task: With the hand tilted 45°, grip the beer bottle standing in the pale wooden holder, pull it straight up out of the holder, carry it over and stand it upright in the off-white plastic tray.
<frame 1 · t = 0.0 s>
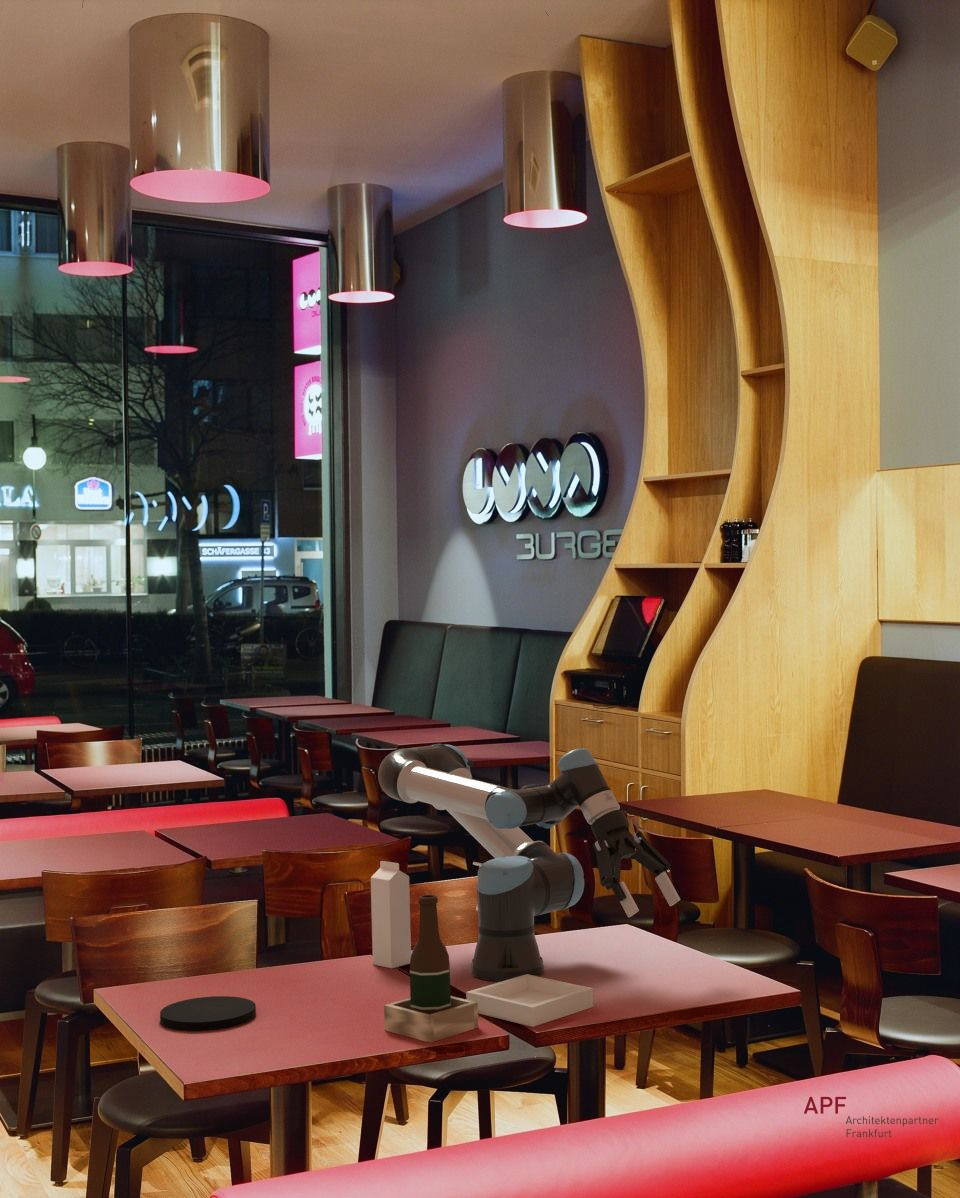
hand: (654, 908, 283), 15 cm above the table, tool tilted 35°, fingers open, 13 cm apart
cup with straw: (496, 953, 313), on the table, touching arm
holder: (431, 1028, 255), on the table
wireless charger: (208, 1020, 266), on the table
milk: (392, 964, 304), on the table
tray: (530, 1008, 266), on the table
beer bottle: (431, 1029, 255), resting in holder
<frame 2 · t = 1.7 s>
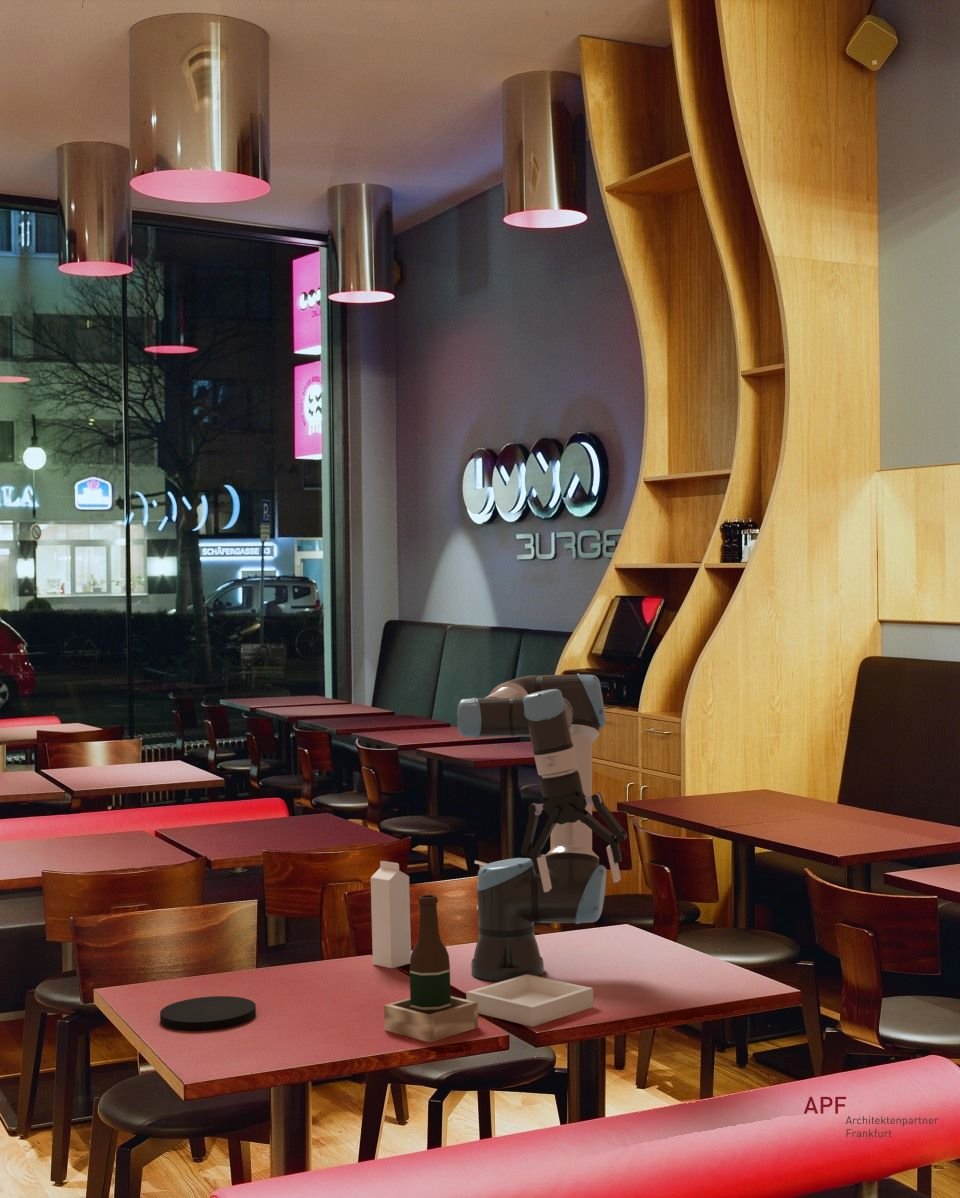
hand: (582, 885, 260), 24 cm above the table, tool pointing down, fingers open, 13 cm apart
cup with straw: (496, 952, 313), on the table
everything else where it was.
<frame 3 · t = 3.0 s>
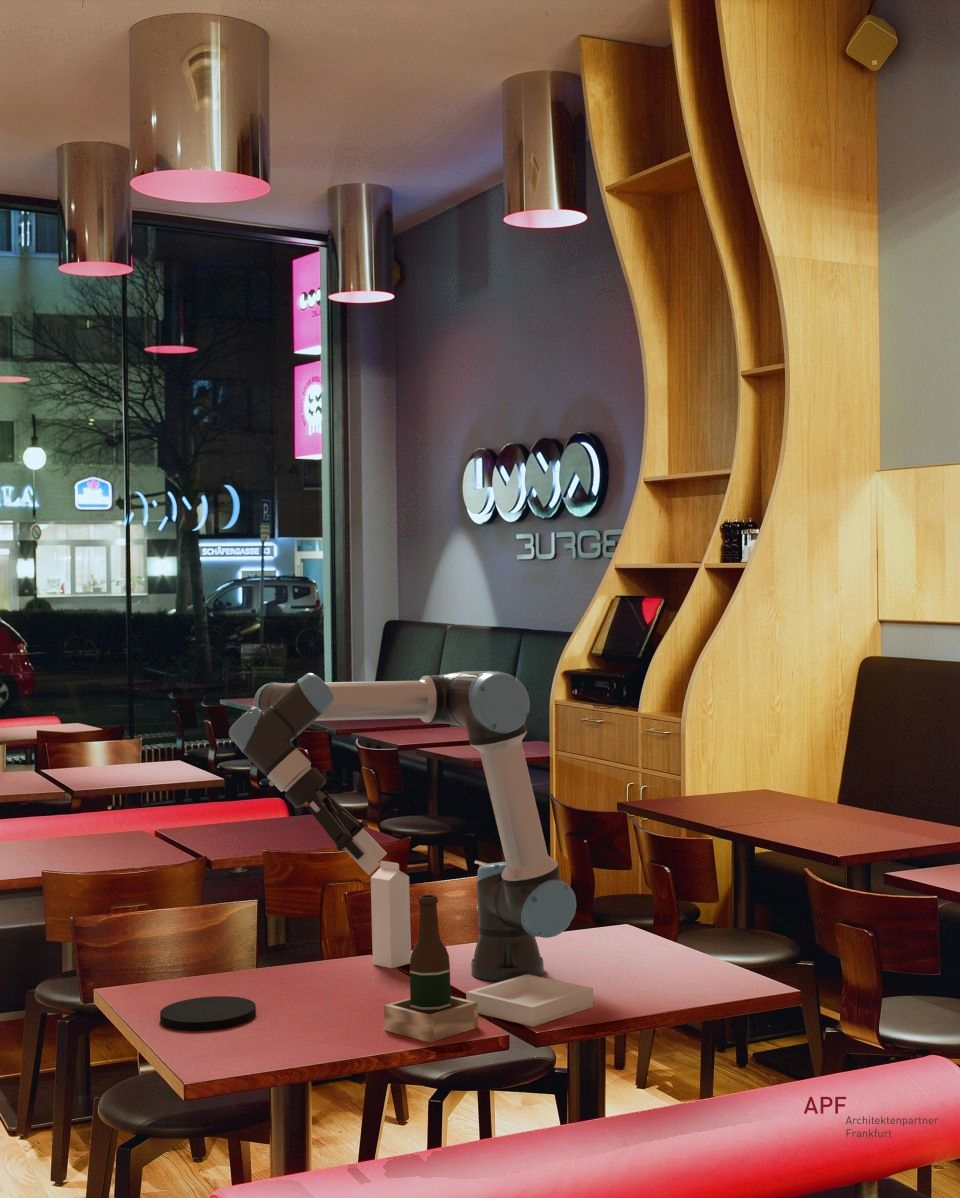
hand: (378, 864, 256), 30 cm above the table, tool tilted 40°, fingers open, 13 cm apart
nothing on the table moved.
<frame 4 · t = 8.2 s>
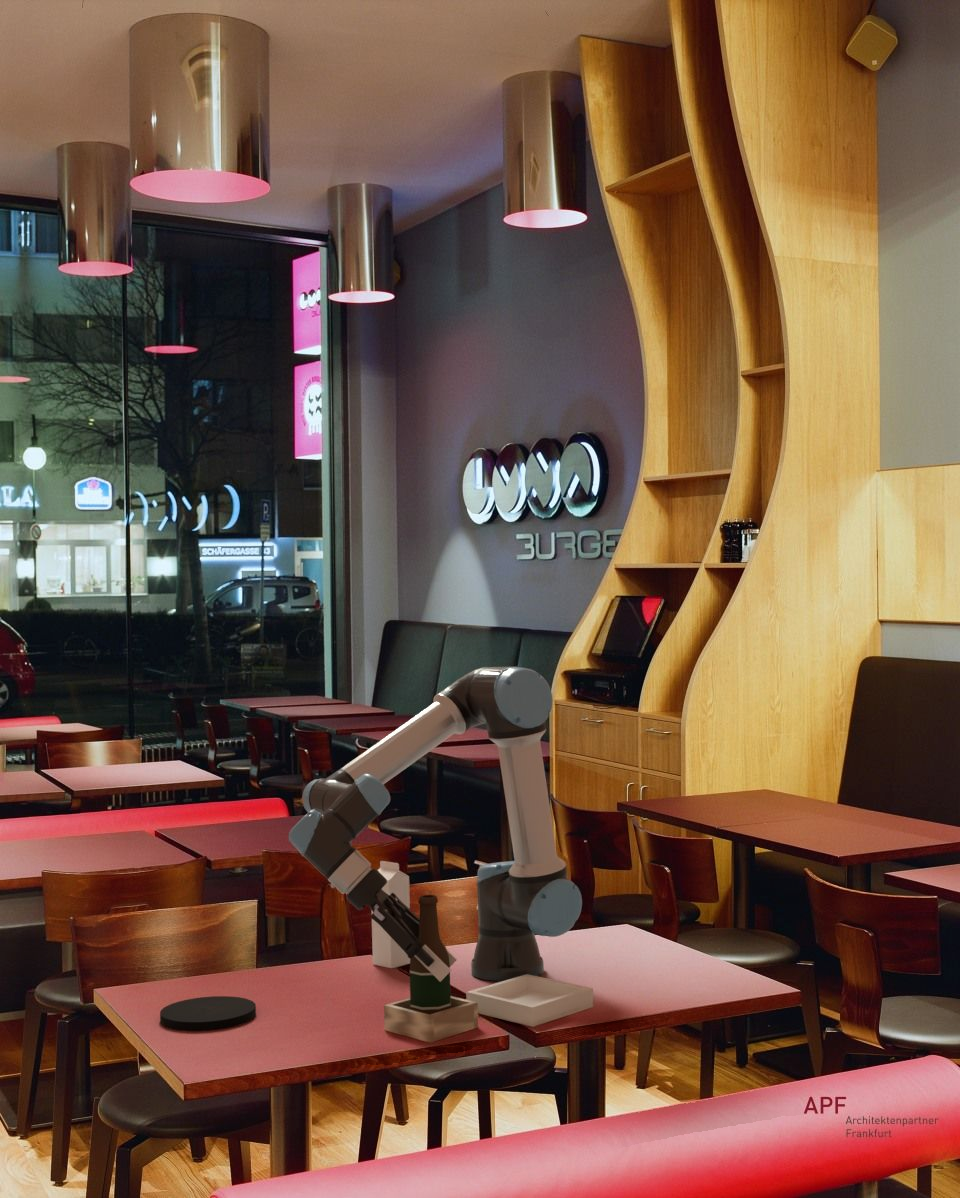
hand: (448, 970, 255), 11 cm above the table, tool tilted 45°, fingers closed on beer bottle, 7 cm apart
beer bottle: (431, 1029, 255), resting in holder, touching gripper
everything else where it was.
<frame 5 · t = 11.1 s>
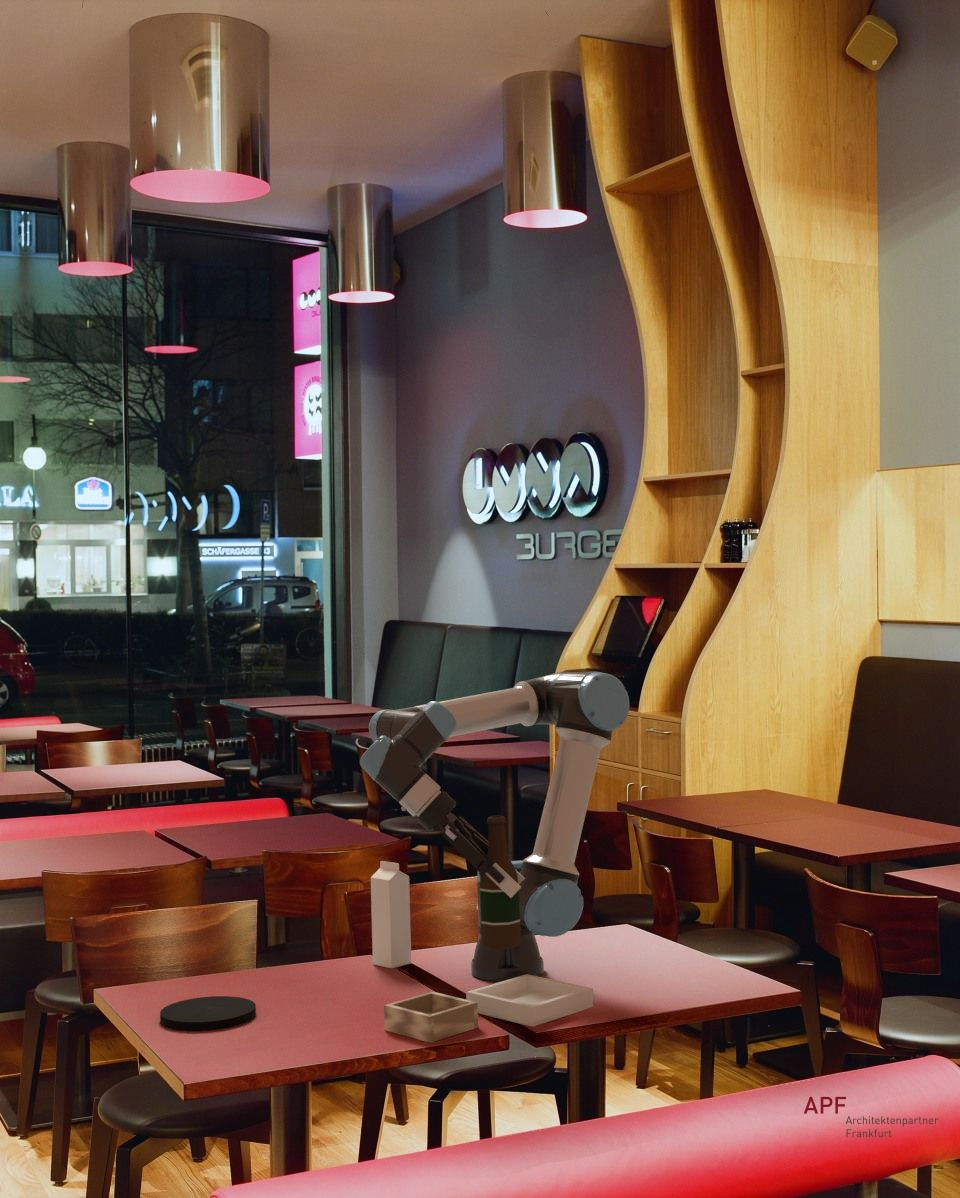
hand: (517, 887, 263), 24 cm above the table, tool tilted 45°, fingers closed on beer bottle, 7 cm apart
beer bottle: (501, 945, 263), point 13 cm above the table, touching gripper
everything else where it was.
when the fingers open (13 cm above the table, at t = 14.4 s): beer bottle drops 2 cm, resting on tray.
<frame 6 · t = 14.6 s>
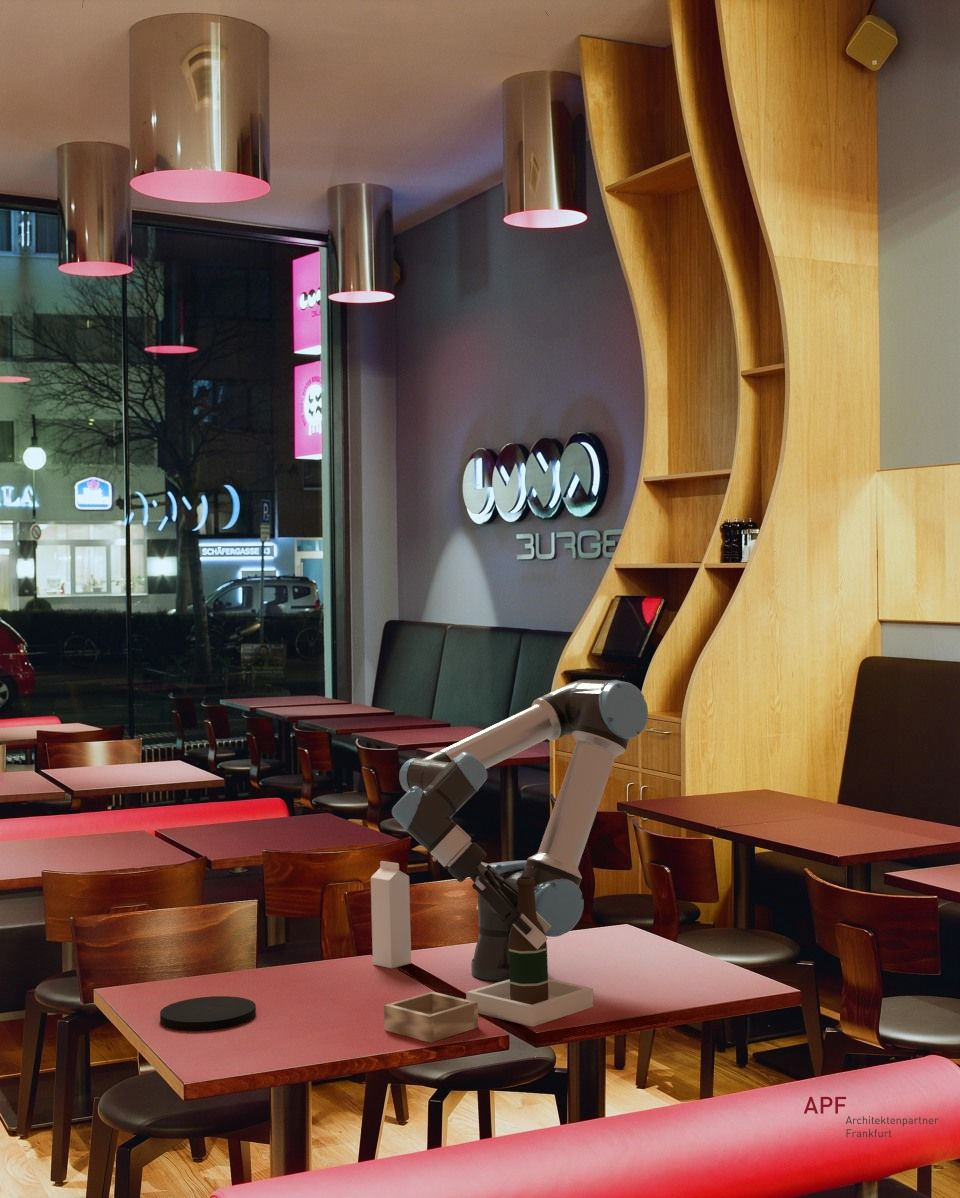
hand: (544, 937, 266), 13 cm above the table, tool tilted 45°, fingers open, 9 cm apart
beer bottle: (529, 1005, 266), point 1 cm above the table, touching tray
everything else where it was.
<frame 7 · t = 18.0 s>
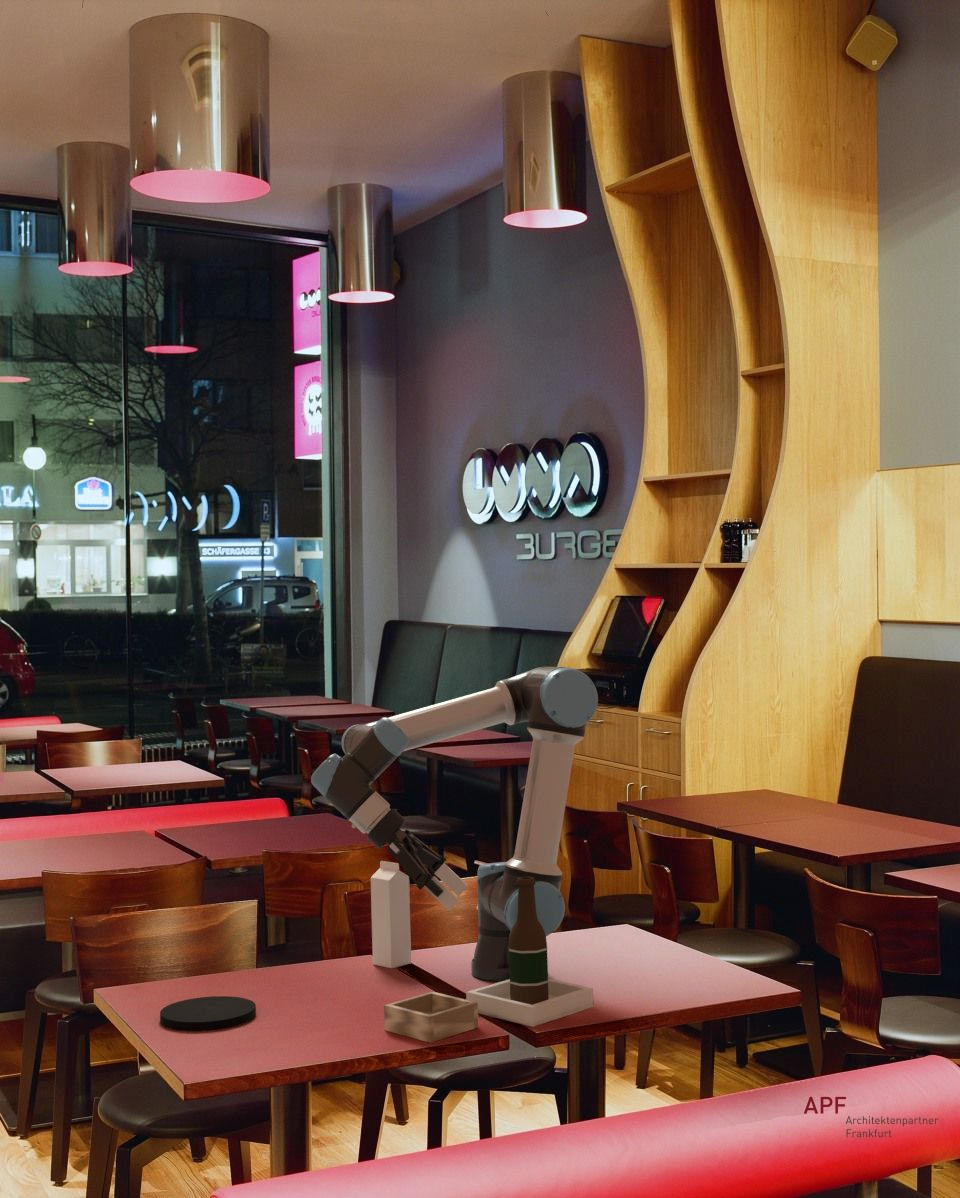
hand: (459, 898, 268), 21 cm above the table, tool tilted 45°, fingers open, 13 cm apart
nothing on the table moved.
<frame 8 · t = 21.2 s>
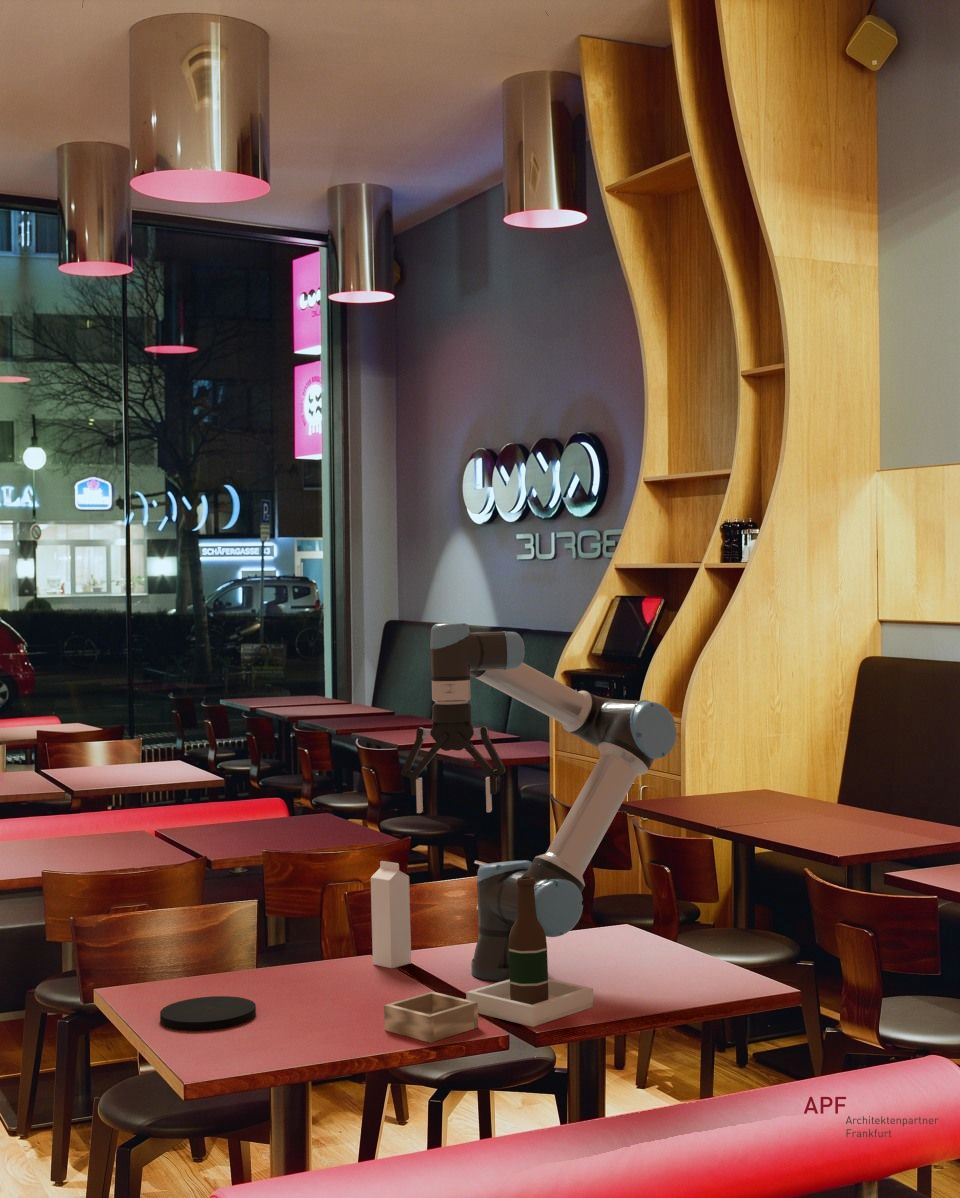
hand: (454, 812, 273), 37 cm above the table, tool pointing down, fingers open, 13 cm apart
nothing on the table moved.
at the end: beer bottle inside the target area on the tray (0.3 cm from its centre), point 0.6 cm above the tray's base; beer bottle tilted 0°; the gripper is holding nothing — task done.
